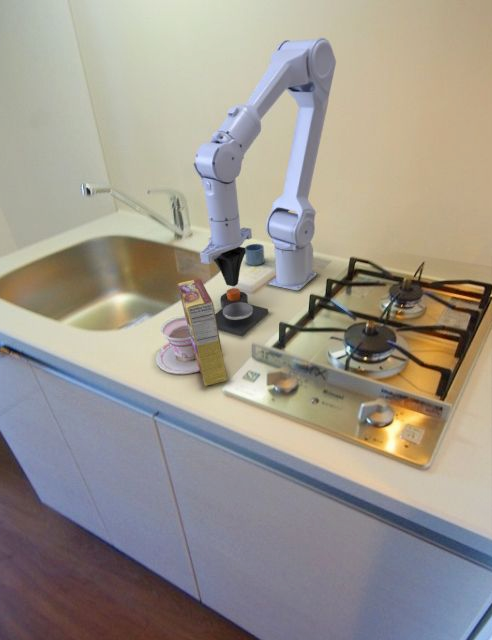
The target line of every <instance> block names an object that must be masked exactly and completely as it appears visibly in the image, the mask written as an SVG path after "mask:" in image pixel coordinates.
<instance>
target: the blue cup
mask: <svg viewBox="0 0 492 640" xmlns="http://www.w3.org/2000/svg"><path fill="white" fill-rule="evenodd" d="M244 248H245V251H246V253H245V255H244V257H245V263H246V264H248V266H252V267H257V266H261V265H262V264H263V263H264V262H265V259H266V258H265V247H264V245H263V244H259V243H251V244H248V245H245V247H244Z"/></svg>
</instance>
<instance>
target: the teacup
mask: <svg viewBox="0 0 492 640" xmlns="http://www.w3.org/2000/svg"><path fill="white" fill-rule="evenodd" d="M160 332H161V334H162V336H163V337H164V338H165V339H166V340H167V341H168V343H167V344H165V345H163V346H162V347H161V348H160V349H159V351H158V352H157V354H156V356H155V359H156V364H157V366H158V367H159V369H160V370H162V371H164V372H167V373H169V374H174V375H191V374H195V373H198V372H200V370H199V367H198V364H197V362H196V359H195V355H194V351H193V347H192V342H191V338H190V334H189V330H188V326H187V321H186V317H185V315H182V316H176V317H173V318H171V319H168V320H167V321H165V322H164V323H163V324H162V325H161V327H160ZM177 357H178V358H181V359H182V360H184V361H190V362H181V361H179V360H178V359H177ZM193 360H194V361H193Z"/></svg>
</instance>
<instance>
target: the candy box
mask: <svg viewBox="0 0 492 640" xmlns="http://www.w3.org/2000/svg"><path fill="white" fill-rule="evenodd" d="M177 288H178V293H179V296H180V300H181V304H182V309H183V312H184V316H185V317H186V321H187V326H188V330H189V334H190V338H191V342H192V347H193V351H194V355H195V359H194V360H195V361H196V362H197V364H198V367H199V370H200V371H199V372H200V375H201V378H202V381H203V384H204V387H207V386H208V387H209V386H212V385H216V384H220V383H223V382H226V381H228V378H227V373H226V366H225V360H224V356H223V355H224V354H223V349H222V344H221V337H220V333H219V332H220V331H219V330H218V327H217V321H216V316H215V314H216V310H215V305H214V301H213V299H212V298H211V296H210V294H209V292H208V291H207V288H206V287H205V285H204V283H203V281H202V279H201V278H197V279H196V278H195V279H192V280H188V281H183V282H179V283H177Z"/></svg>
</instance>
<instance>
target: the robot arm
mask: <svg viewBox="0 0 492 640" xmlns="http://www.w3.org/2000/svg"><path fill="white" fill-rule="evenodd" d="M269 61H270V62H269V63H270V64H269V66H268V67H267V69H266V71H265V72H264V74H263V75H262V77H261V79H260V80H259V82H258V83H257V84H256V87H255V88H254V90H253V91H252V93H251V94H250V97H249V98H248V100H247V101H246V103H245V104H237V105H235V106H231V107H230V108H229V110H228V111H227V115H228V116H227V117H226V118H225V120H224V121H223V123H221V125H220V126H219V128H218V129H217V131H214V133H213V134H212V135H211V137H212V138H211V140H210V141H206V142H204V143H202V144H201V145H200V146H199V148H198V150H197V151H196V153H195V162H193V168H194V171H195V173H196V175H198V176H199V178H200V180H201V184H202V185H201V186H202V187H203V189H204V196H205V202H206V203H205V204H206V209H207V210H206V211H207V216H208V223H209V230H210V236H211V237H209V238H208V239H207V240H208V241H207V242H208V244H207V246H206V247H205V248H204V249H203V250H202V251H200V252H199V257H200V262H201V264H204V265H205V264H206V265H211V264H213V262H215V264H216V266H217V267H218V269H219V271H220V273H221V275H222V277H223V280H224V282H225V284H226V286H230V287H236V286H237V285H238V284H239V278H240V272H241V267H242V262H243V260H244V258H245V253H246V251H245V247H243V246H242V245H243V244H244V243H245V241H246V240H248V241H249V240H252V238H253V234H252V228H250V227H241V222H240V221H241V220H240V211H239V200H238V190H237V177H239V176H240V175H241V172H242V163H243V160H244V159H245V157H244V156H245V154H246V153H247V151H248V150H249V149H250V147H251V146H252V144H253V143H254V142H255V140H256V139H257V137H258V136H259V135H260V133H261V132H262V122H261V120H262V119H263V118H264V117H265V115H266V114H267V113H268V112H269V110H271V108H272V107H273V106H274V104H275V103H276V102H277V101H278V100H279V98H280V97H281V96H282V95H283V94H284V93H285V91H287V92H288V94H289V95H290V96H291V97H292V98H293V99H294V100H295V103H296V104H297V106H298V110H297V116H296V121H295V126H294V131H293V137H292V142H291V147H290V153H289V157H288V158H289V159H288V163H287V169H286V175H285V178H284V179H285V180H284V186H283V190H282V194H281V195H280V196H279V197H277V198H276V200H274V201H273V202H272V206H271V210H270V212H269V214H268V216H267V219H266V222H265V231H266V234H267V236H268V237H269V238H271V243H272V244H273V246H274V262H275V276H274V278H273V279H272V280H270V281H269V282H268V285H269V286H274V287H278V288H281V289H282V288H283V289H288V290H292V291H300V290H301V289H302V288H304V287H305V286H306V285H307V284H308V283H309V282H310V281H312V279H314V278H315V277H316V276H317V272H315V271H314V246H313V244H312V240H313V238H314V235H315V232H316V231H315V229H316V228H315V226H316V225H315V217H316V214H317V212H316V210H315V208H314V206H313V205H312V204H311V202H310V201H309V196H310V191H311V186H312V180H313V177H314V172H315V168H316V162H317V158H318V153H319V148H320V143H321V140H322V139H321V138H322V133H323V129H324V125H325V120H326V115H327V110H328V105H329V97H330V94H331V88H332V84H333V80H334V79H333V78H334V74H335V69H336V64H337V60H336V57H335V53H334V51H333V48H332V44H331V42H330V41H329V40H328V39H327V38H326V37H318V38H313V39H300V40H299V39H298V40H289V39H286V40H282V41H281V42H280V43H279V44H278V45H277V47H276V49H275V50H274V51H273V52H272V53H271V54H270V60H269ZM291 211H292V212H291ZM294 212H295V213H294Z"/></svg>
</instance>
